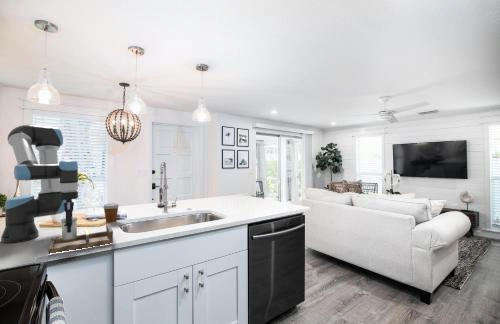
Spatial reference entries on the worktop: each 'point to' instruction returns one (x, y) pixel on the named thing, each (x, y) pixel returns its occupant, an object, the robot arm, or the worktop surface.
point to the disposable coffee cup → (111, 212)
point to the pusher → (87, 234)
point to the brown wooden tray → (82, 241)
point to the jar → (74, 227)
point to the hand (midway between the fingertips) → (69, 236)
